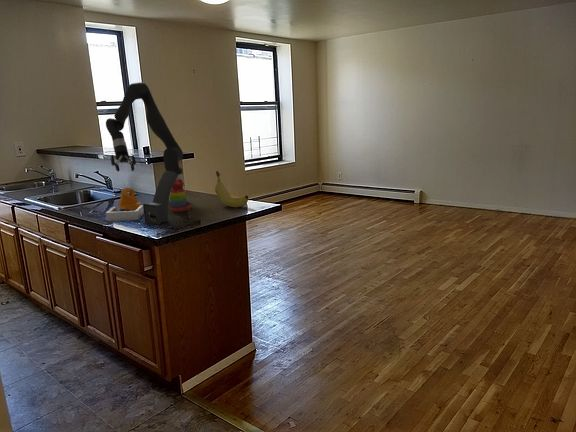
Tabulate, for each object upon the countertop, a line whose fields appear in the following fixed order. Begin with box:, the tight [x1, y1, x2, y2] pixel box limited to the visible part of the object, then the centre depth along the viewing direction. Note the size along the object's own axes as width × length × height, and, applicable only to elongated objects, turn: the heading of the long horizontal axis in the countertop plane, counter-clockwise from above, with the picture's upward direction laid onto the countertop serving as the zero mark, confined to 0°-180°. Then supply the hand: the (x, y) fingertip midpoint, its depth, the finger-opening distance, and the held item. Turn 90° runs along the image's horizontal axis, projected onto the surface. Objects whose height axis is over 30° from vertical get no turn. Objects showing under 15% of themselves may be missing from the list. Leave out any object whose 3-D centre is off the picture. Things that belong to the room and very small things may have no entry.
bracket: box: [105, 204, 144, 222], centre depth 235 cm, size 16×14×4 cm
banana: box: [214, 171, 249, 208], centre depth 250 cm, size 23×6×20 cm, turn 58°
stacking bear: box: [169, 179, 192, 213], centre depth 246 cm, size 11×10×18 cm
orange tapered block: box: [118, 187, 143, 211], centre depth 254 cm, size 11×7×12 cm, turn 134°
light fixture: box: [142, 170, 178, 226], centre depth 224 cm, size 11×17×24 cm, turn 147°
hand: (125, 170), depth 267 cm, fingers open, 8 cm apart
